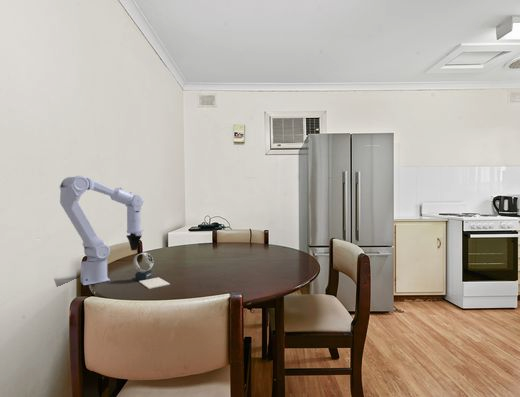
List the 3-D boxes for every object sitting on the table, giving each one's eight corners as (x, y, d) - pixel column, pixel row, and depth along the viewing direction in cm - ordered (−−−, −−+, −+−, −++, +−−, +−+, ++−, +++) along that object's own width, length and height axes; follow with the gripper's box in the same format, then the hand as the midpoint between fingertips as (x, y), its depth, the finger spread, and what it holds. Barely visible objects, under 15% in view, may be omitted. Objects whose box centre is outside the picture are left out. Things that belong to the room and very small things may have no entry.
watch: (150, 280, 114) (150, 254, 115) (131, 280, 115) (131, 254, 115) (155, 277, 120) (155, 251, 120) (137, 277, 120) (137, 251, 120)
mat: (149, 289, 104) (149, 287, 104) (139, 282, 113) (139, 281, 113) (169, 284, 109) (169, 283, 109) (158, 278, 118) (158, 277, 118)
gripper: (148, 221, 126) (148, 251, 125) (137, 219, 137) (138, 247, 136) (131, 221, 121) (131, 253, 121) (122, 220, 132) (122, 249, 132)
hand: (134, 250), depth 128 cm, fingers closed
